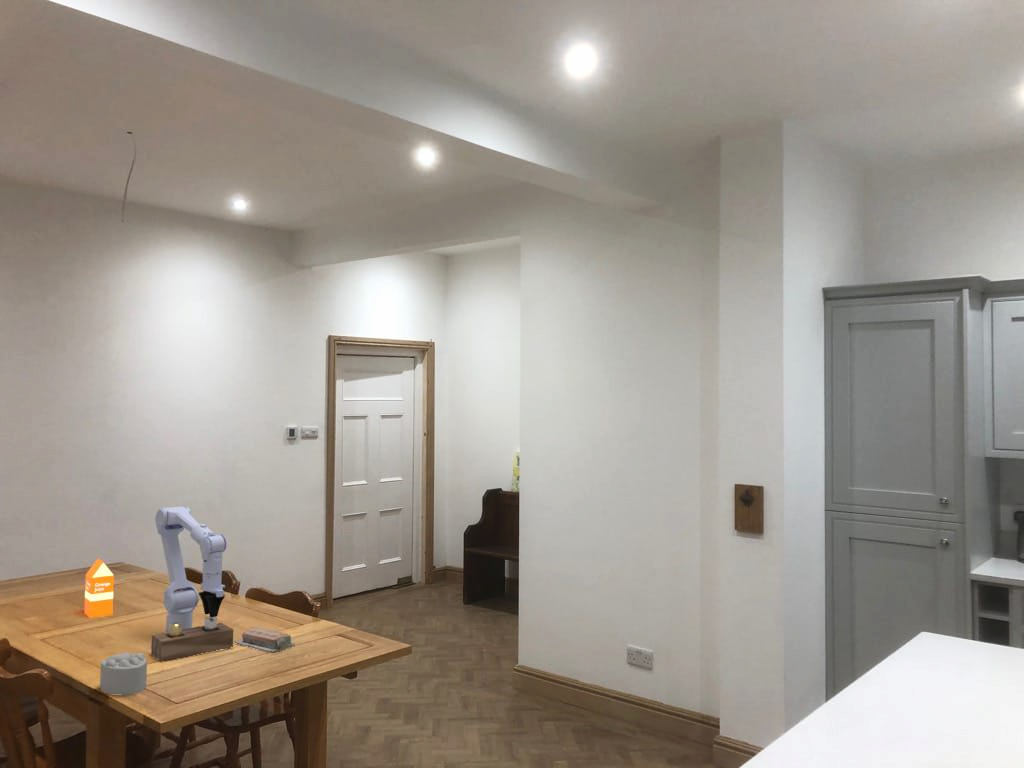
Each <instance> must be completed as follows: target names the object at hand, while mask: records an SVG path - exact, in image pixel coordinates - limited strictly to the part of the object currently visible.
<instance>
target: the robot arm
mask: <svg viewBox="0 0 1024 768" xmlns="http://www.w3.org/2000/svg"><path fill="white" fill-rule="evenodd" d="M154 520H155V525H156V530H157V534H158V535H160V538H161V543H162V548H163V553H164V557H165V564H166V567H167V573H168V578H169V585H168V586H167V587H166V588H165V590H164V591H163V606H164V608H165V610H166V612H167V615H166V619H165V620H166V623H165V625H166V626H165V627H166V628H165V632H169V627H170V624H171V623H175V622H180V623H182V629H188V628H193V618H194V617H193V613H194V612H193V611H195V610H196V607H197V606H198V604H199V601H200V599H201V603H202V606H203V611H204V612H203V613H204V614H205V615H209V617H218V615H219V611H220V607H221V605H222V602H223V601H224V599H225V596H226V595H225V594H224V593H225V591H224V589H225V588H226V585H225V584H222V574H223V553H224V552H225V551H226V549H227V540H226V537H225V536H224V535H223V534H218V533H217V534H216V533H215V532H214V531H213V530H211V529H210V528H209V527H208V525H207V524H206V523H199V522H198V521H197V520H196V519H195V518H194V517H193V516H192V509H191V508H189V506H187V505H182V506H172V507H170V506H169V507H160V508H159V509H158V510H157V511H156V515H155V517H154ZM184 530H187V531H189V532H190V533H189V534H190V537H191V539H192V540H193V541H195V543H196V544H198V545H199V550H200V552H201V553H200V554H201V559H202V560H203V561H202V566H203V567H202V582H201V583H200V590H201V591H200V592H198V591H197V589H196V588H197V587H196V584H195V583H193V582H192V581H191V580H188V579H187V575H186V574H187V573H186V569H185V563H184V560H183V554H182V550H181V545H180V539H179V534H180V533H182V532H183V531H184Z"/></svg>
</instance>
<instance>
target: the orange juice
mask: <svg viewBox="0 0 1024 768" xmlns="http://www.w3.org/2000/svg"><path fill="white" fill-rule="evenodd" d="M114 582H115V575H114V573H113V572H112V571H111V570H110V568H109V567H108V566H107V565H106V564H105V562H104V561H103V560H101V559H100V558H97V559H96V560H95V562H94V563H93V565H92V566H91V567H90V568H89V570H88V571H87V572H86V573H85V585H84V586H85V589H84V614H85V615H86V616H87V617H88V618H90V619H92V618H100V617H107V616H113V612H114V611H113V606H114V585H115V584H114Z"/></svg>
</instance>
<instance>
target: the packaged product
mask: <svg viewBox="0 0 1024 768" xmlns="http://www.w3.org/2000/svg"><path fill="white" fill-rule="evenodd" d="M241 637H242V639H238V640H237V641H234V644H235V643H237V644H240V645H239V646H242V645H244V647H245V646H248V647H247V648H249V647H252V648H251V649H253V648H255V649H254V650H256V649H259V650H258V651H261V650H263V651H262V652H265V651H267V652H266V653H269V652H271V653H270V654H275V653H278V652H281V651H284V650H287V649H290V648H293V647H295V645H296V643H295V641H292V640H291V639H292V638H291V637H292V635H290V634H287V633H283V632H280V631H275V630H271V629H267V628H263V627H258V626H253V627H250V628H249V629H248V630H246V631H244V632H243V633H242V634H241ZM237 644H236V645H237ZM292 646H293V647H292ZM289 647H290V648H289ZM286 648H287V649H286ZM283 649H284V650H283ZM280 650H281V651H280ZM277 651H278V652H277ZM274 652H275V653H274Z"/></svg>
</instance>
